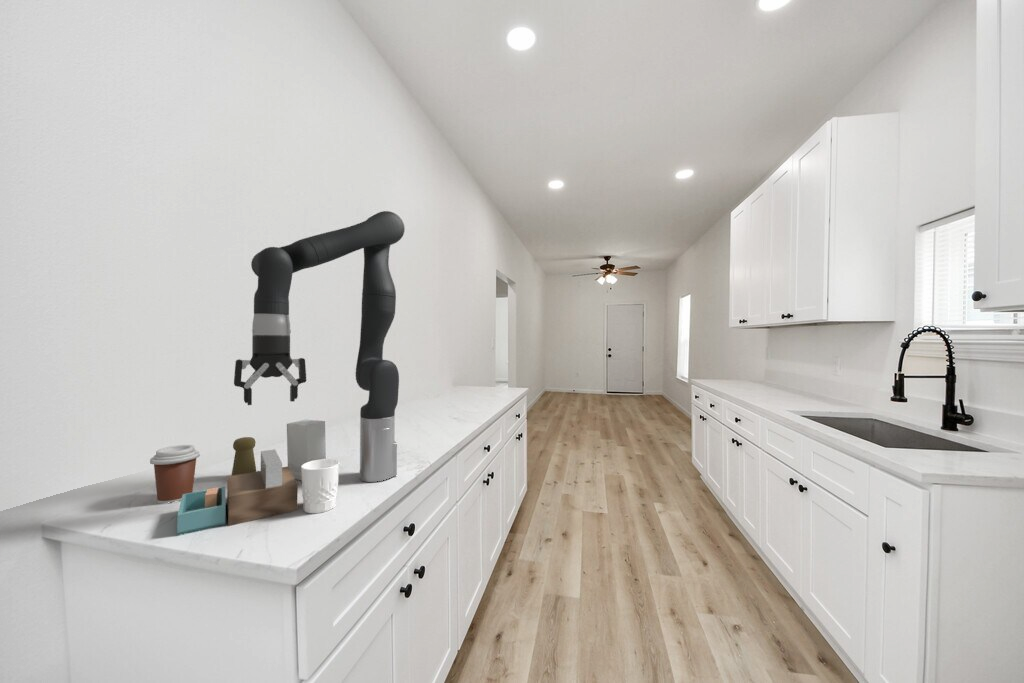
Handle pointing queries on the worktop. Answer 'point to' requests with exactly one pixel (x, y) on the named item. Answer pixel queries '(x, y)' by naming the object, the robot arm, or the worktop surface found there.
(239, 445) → the olive pepper mill
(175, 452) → the coffee cup
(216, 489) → the terracotta tile
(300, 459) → the skincare box
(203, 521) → the teal box
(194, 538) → the worktop surface
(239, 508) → the brown wooden box
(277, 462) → the steel bar
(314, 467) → the white cup
